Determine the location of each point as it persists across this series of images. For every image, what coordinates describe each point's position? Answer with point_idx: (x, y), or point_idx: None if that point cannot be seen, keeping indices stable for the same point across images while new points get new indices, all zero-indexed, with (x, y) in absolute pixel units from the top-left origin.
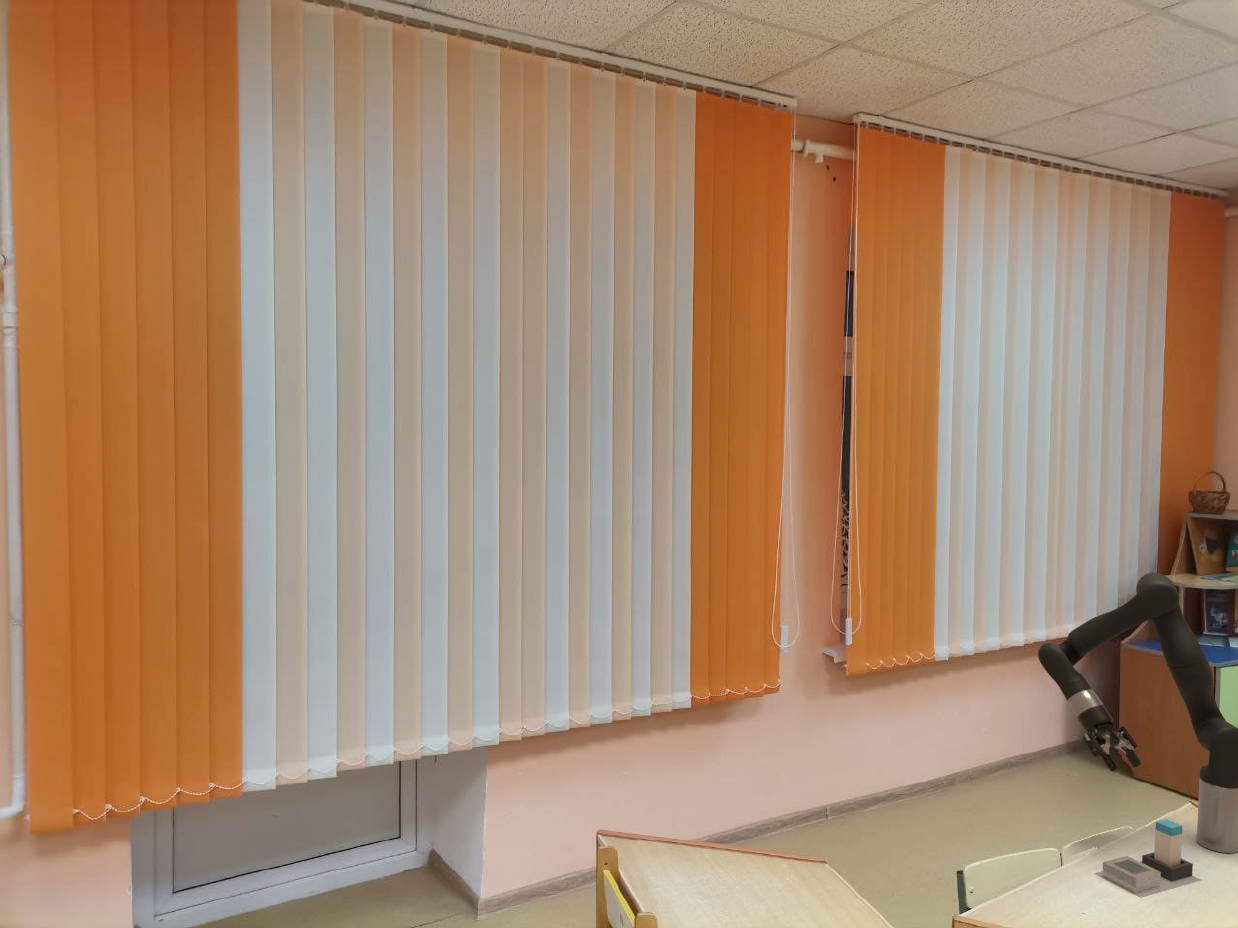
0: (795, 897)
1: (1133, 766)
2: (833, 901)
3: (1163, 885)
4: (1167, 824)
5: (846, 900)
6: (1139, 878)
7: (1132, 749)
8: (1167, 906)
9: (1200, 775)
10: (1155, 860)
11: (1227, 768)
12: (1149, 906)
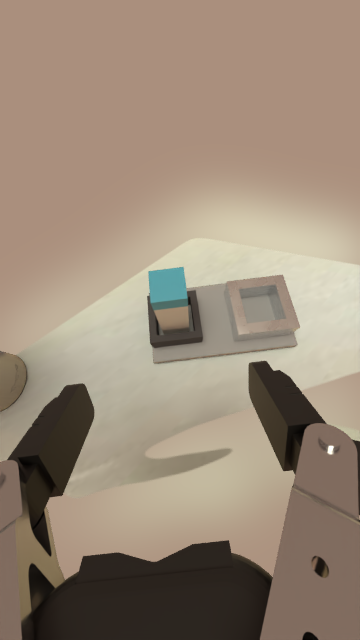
0: None
1: (92, 419)
2: None
3: (216, 293)
4: (174, 282)
5: None
6: (274, 276)
7: (11, 465)
8: (244, 267)
9: None
10: (196, 317)
11: None
12: (268, 271)
